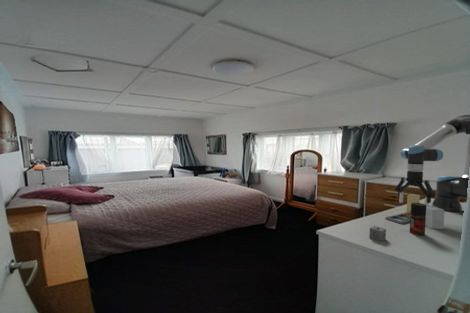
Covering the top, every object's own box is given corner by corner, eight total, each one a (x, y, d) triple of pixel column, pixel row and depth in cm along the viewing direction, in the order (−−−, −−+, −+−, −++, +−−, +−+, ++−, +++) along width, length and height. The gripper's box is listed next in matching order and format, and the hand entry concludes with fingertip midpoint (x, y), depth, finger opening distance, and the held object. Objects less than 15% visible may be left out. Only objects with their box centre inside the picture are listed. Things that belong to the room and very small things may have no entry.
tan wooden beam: (410, 215, 139) (411, 193, 138) (418, 217, 135) (419, 195, 134) (406, 216, 137) (407, 194, 136) (414, 218, 133) (415, 195, 132)
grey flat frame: (408, 213, 142) (408, 211, 142) (425, 218, 134) (425, 215, 134) (385, 219, 132) (385, 216, 132) (402, 224, 124) (402, 221, 124)
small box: (443, 229, 117) (445, 210, 116) (431, 228, 118) (432, 209, 117) (433, 224, 124) (434, 205, 124) (422, 223, 125) (423, 205, 125)
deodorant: (407, 231, 113) (408, 203, 112) (413, 230, 115) (415, 202, 114) (420, 236, 108) (422, 206, 107) (427, 234, 110) (429, 205, 109)
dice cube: (369, 238, 106) (369, 227, 105) (374, 235, 109) (374, 225, 108) (380, 241, 102) (381, 231, 101) (385, 239, 104) (386, 229, 104)
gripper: (389, 169, 144) (388, 200, 145) (437, 173, 122) (435, 211, 123) (396, 168, 147) (395, 199, 149) (444, 173, 125) (442, 209, 126)
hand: (413, 205), depth 136 cm, fingers open, 13 cm apart
